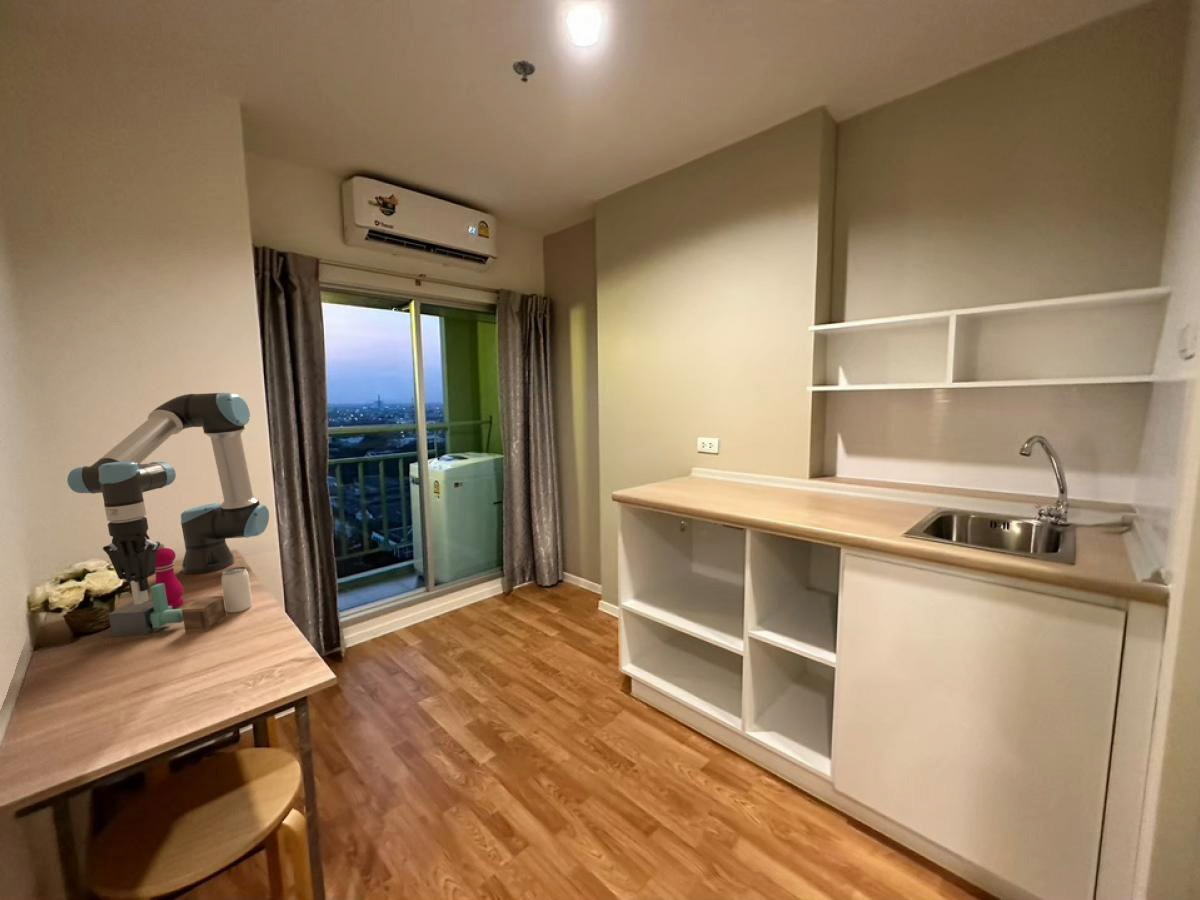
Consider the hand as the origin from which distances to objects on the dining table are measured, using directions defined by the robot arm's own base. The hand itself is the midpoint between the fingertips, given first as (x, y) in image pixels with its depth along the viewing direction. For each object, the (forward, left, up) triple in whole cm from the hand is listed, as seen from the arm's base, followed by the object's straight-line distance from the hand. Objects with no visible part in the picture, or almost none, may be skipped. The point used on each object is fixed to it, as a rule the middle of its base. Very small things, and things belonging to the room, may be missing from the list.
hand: (141, 602), depth 130 cm
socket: (0, +16, -8) cm, 18 cm away
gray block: (0, -1, -8) cm, 8 cm away
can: (-10, +18, -8) cm, 22 cm away
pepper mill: (-14, -5, -8) cm, 17 cm away
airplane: (0, +2, -7) cm, 7 cm away
